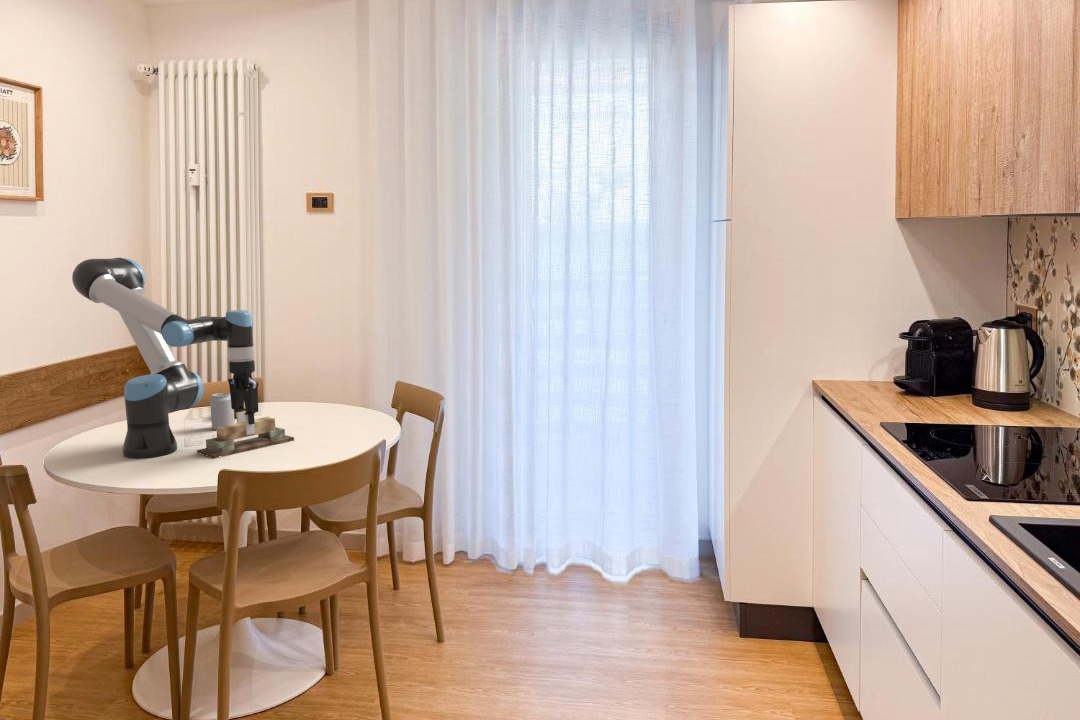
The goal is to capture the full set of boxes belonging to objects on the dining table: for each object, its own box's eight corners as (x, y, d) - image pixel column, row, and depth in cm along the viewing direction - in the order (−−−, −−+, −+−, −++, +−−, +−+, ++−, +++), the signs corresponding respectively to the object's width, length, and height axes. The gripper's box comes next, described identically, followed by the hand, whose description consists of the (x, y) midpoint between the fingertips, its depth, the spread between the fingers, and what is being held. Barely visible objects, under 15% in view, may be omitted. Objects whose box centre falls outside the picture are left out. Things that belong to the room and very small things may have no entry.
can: (238, 425, 287) (236, 392, 285) (228, 430, 280) (226, 396, 278) (218, 425, 288) (216, 392, 286) (207, 430, 280) (205, 395, 279)
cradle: (214, 458, 243) (213, 445, 242) (196, 453, 249) (195, 440, 249) (294, 440, 265) (293, 428, 264) (276, 435, 271) (275, 424, 270)
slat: (224, 441, 248) (223, 429, 248) (217, 439, 251) (216, 427, 250) (275, 430, 262) (274, 418, 262) (268, 428, 265) (267, 416, 264)
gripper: (267, 360, 251) (272, 434, 254) (237, 356, 261) (242, 427, 264) (245, 363, 245) (250, 439, 248) (215, 359, 255) (220, 431, 259)
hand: (246, 432), depth 256 cm, fingers closed on slat, 4 cm apart
